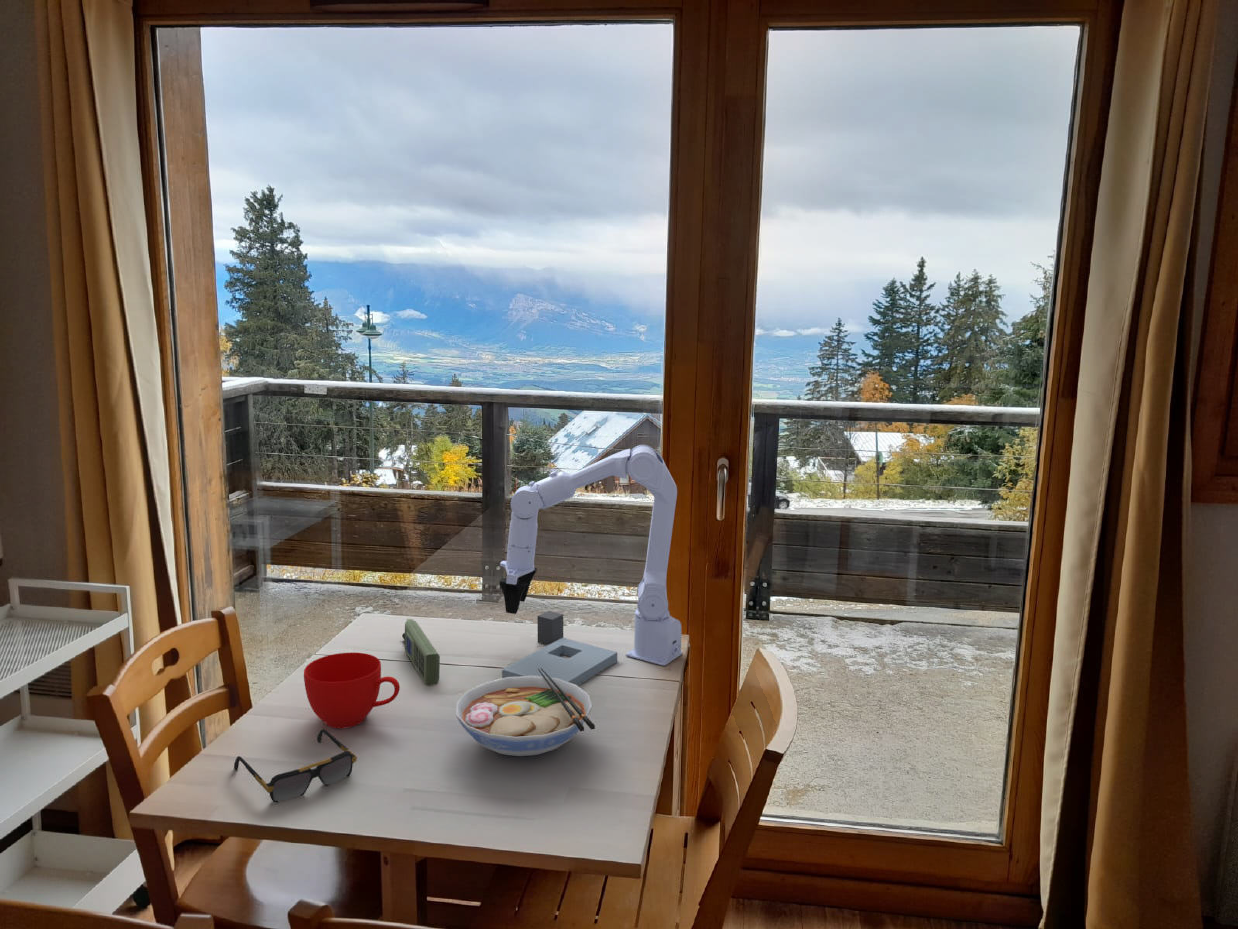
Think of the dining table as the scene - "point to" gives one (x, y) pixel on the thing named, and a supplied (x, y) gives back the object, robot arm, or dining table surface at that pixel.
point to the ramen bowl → (524, 714)
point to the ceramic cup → (345, 687)
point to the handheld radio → (421, 653)
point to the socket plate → (563, 662)
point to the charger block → (550, 627)
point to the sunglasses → (306, 773)
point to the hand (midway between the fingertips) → (515, 606)
